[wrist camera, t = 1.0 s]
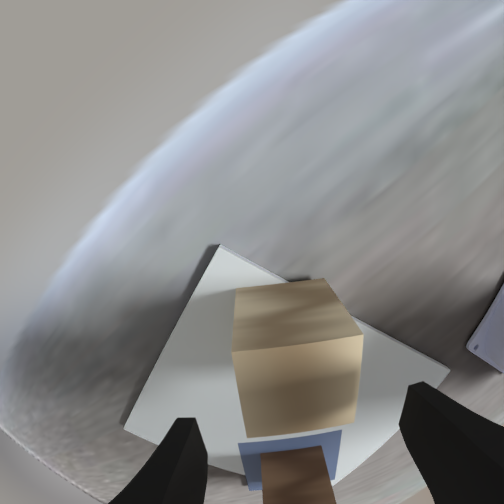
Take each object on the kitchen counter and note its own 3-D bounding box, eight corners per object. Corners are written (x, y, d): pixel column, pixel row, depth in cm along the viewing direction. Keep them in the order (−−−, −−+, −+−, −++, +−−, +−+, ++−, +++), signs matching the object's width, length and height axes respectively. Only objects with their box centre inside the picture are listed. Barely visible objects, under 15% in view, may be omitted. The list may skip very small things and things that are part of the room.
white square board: (447, 366, 18) (450, 370, 18) (309, 497, 22) (310, 501, 22) (219, 244, 16) (219, 246, 15) (118, 437, 20) (116, 442, 19)
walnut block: (321, 445, 19) (337, 507, 13) (318, 474, 20) (331, 529, 14) (260, 453, 19) (263, 517, 13) (265, 481, 20) (268, 538, 14)
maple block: (324, 278, 16) (363, 334, 10) (324, 351, 17) (354, 422, 11) (236, 288, 16) (231, 351, 10) (246, 361, 17) (246, 438, 11)
